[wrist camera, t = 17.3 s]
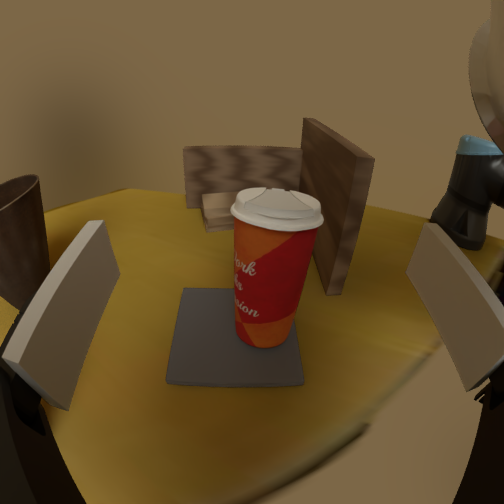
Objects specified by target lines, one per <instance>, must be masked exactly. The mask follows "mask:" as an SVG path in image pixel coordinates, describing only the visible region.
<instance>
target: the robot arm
mask: <svg viewBox="0 0 504 504" xmlns="http://www.w3.org/2000/svg"><path fill="white" fill-rule="evenodd" d="M469 79H470V86H471V93H472V97H473V100H474V104H475V107H476V110H477V112H478V115H479V117H480V120H481V122H482V124H483V126H484V127H485V129H486V131H487V133H488V134H489V136H490V137H491V139H492V140H493V142H492V141H489V140H485V139H482V138H479V137H475V136H471V135H464V136H462V137H461V138H460V141H459V145H458V149H457V151H456V154H457V155H456V159H455V163H454V166H453V171H452V174H451V178H450V181H449V185H448V188H447V192H446V193H445V195H444V196H443V198H442V199H441V201H440V203H439V204H438V206H437V207H436V208H435V209H434V211H433V213H432V216H431V219H430V222H431V223H424V225H423V228H422V231H421V234H420V236H419V239H418V242H417V245H416V247H415V250H414V252H413V255H412V258H411V260H410V263H409V265H408V267H407V270H406V272H405V273H406V274H407V276H408V277H409V279H410V281H411V282H412V284H413V286H414V287H415V289H416V291H417V293H418V294H419V296H420V298H421V299H422V301H423V303H424V305H425V307H426V308H427V310H428V312H429V314H430V316H431V318H432V319H433V321H434V323H435V325H436V327H437V329H438V331H439V333H440V335H441V337H442V339H443V341H444V343H445V345H446V347H447V349H448V351H449V353H450V355H451V358H452V360H453V362H454V364H455V366H456V368H457V371H458V373H459V375H460V378H461V380H462V383H463V385H464V388H465V390H466V392H468V391H470V390H473V389H475V388H477V387H479V386H480V385H481V384H482V383H483V382H484V381H485V380H486V379H488V378H489V379H490V381H491V382H490V383H489V384H487V385H486V386H485V387H484V388H483V389H482V390H481V391H480V392H479V393H478V394H477V395H476V396H475V398H474V400H475V401H476V400H477V399H478V398H480V397H481V396H482V395H483V394H485V395H484V396H483V397H482V398H481V399H480V400H479V402H480V403H482V404H483V408H482V412H481V417H480V422H479V426H478V430H477V434H476V438H475V442H474V446H473V449H472V452H471V455H470V459H469V462H468V465H467V468H466V471H465V473H464V476H463V479H462V481H461V484H460V487H459V489H458V491H457V494H456V496H455V498H454V501H453V503H452V504H504V305H502V302H501V301H500V300H499V298H498V297H497V295H496V294H495V293H494V292H493V291H492V289H491V288H490V287H489V285H488V284H487V282H486V281H485V280H484V278H483V277H482V276H481V275H480V273H479V272H478V271H477V269H476V268H475V267H474V266H473V264H472V263H471V262H470V261H469V259H468V258H467V257H466V256H465V255H464V253H463V252H462V251H461V250H460V249H459V247H458V246H460V247H463V248H466V249H470V250H479V249H481V248H482V246H483V244H484V242H485V239H486V229H487V221H488V213H489V210H490V207H491V205H492V203H494V204H496V205H497V206H500V207H501V208H503V209H504V0H491V17H490V19H489V20H487V21H486V22H485V23H484V24H483V25H482V26H481V27H480V28H479V30H478V31H477V33H476V34H475V36H474V38H473V41H472V45H471V48H470V53H469ZM457 245H458V246H457ZM119 276H120V271H119V268H118V265H117V262H116V259H115V256H114V253H113V250H112V246H111V243H110V240H109V236H108V233H107V229H106V226H105V222H104V220H96V221H88V222H87V223H86V225H85V226H84V227H83V228H82V230H81V231H80V232H79V233H78V235H77V236H76V237H75V239H74V240H73V241H72V242H71V244H70V245H69V246H68V248H67V249H66V250H65V252H64V253H63V255H62V256H61V257H60V259H59V260H58V262H57V263H56V264H55V266H54V267H53V269H52V270H51V272H50V273H49V275H48V276H47V277H46V279H45V281H44V282H43V284H42V285H41V287H40V288H39V290H38V291H35V292H34V293H33V294H32V295H31V296H30V297H29V298H28V299H27V300H26V301H25V303H24V305H23V306H22V308H21V310H20V311H19V314H18V315H17V317H16V318H15V320H14V324H12V326H11V327H10V329H9V331H8V333H7V335H6V337H5V339H4V341H3V343H2V345H1V347H0V504H86V502H85V500H84V499H83V497H82V495H81V493H80V492H79V490H78V488H77V486H76V484H75V482H74V480H73V478H72V476H71V474H70V472H69V470H68V468H67V466H66V464H65V462H64V460H63V458H62V455H61V453H60V451H59V448H58V446H57V443H56V441H55V439H54V436H53V433H52V431H51V428H50V425H49V422H48V420H47V417H46V414H45V410H44V408H43V407H42V405H41V404H40V400H41V397H42V398H43V399H44V400H45V401H46V402H48V403H49V404H50V405H51V406H54V407H57V408H60V409H63V410H66V411H69V407H70V404H71V400H72V397H73V394H74V390H75V387H76V384H77V381H78V378H79V375H80V372H81V369H82V366H83V363H84V360H85V358H86V355H87V352H88V349H89V347H90V344H91V341H92V339H93V336H94V334H95V331H96V329H97V326H98V324H99V321H100V319H101V316H102V314H103V312H104V309H105V307H106V305H107V302H108V300H109V298H110V296H111V293H112V291H113V289H114V287H115V285H116V282H117V280H118V278H119Z"/></svg>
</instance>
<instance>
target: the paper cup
mask: <svg viewBox="0 0 504 504" xmlns="http://www.w3.org/2000/svg"><path fill="white" fill-rule="evenodd" d="M230 211H231V213H232V214H233V216H234V291H235V326H236V332H237V335H238V337H239V338H240V339H241V340H242V341H243V342H245V343H246V344H248V345H250V346H253V347H257V348H272V347H276V346H278V345H280V344H282V343H283V342H284V341H285V340H286V338H287V336H288V334H289V331H290V329H291V326H292V322H293V319H294V316H295V313H296V309H297V306H298V303H299V299H300V296H301V292H302V289H303V285H304V281H305V278H306V274H307V270H308V266H309V263H310V259H311V255H312V251H313V247H314V243H315V239H316V235H317V231H318V227H319V226H320V225H322V224H323V221H324V219H323V215H322V214H321V205H320V202H319V201H318V200H317V199H315V198H313V197H311V196H309V195H307V194H304V193H300V192H297V191H292V190H290V192H289V191H284V189H276V188H272V190H271V189H267V190H266V187H260V188H249V189H245V190H242V191H240V192H239V193H238V194H237V197H236V201H235V203H234V204H233V205H232V207H231V210H230Z"/></svg>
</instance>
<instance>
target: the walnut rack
mask: <svg viewBox="0 0 504 504" xmlns="http://www.w3.org/2000/svg"><path fill="white" fill-rule="evenodd" d="M183 161H184V175H185V190H186V203H187V208H201V204H203V203H202V194H213V193H226V192H240V191H242V190H245V189H249V188H260V187H266V190H267V189H271V190H272V188H276V189H284V191H289V192H290V190H292V191H297V192H300V193H304V194H307V195H309V196H311V197H313V198H315V199H317V200H318V201H319V202H320V205H321V214H322V215H323V219H324V221H323V224H322V225H320V226H319V227H318V231H317V235H316V239H315V243H314V247H313V251H312V254H313V257H314V260H315V263H316V266H317V269H318V272H319V275H320V278H321V281H322V284H323V287H324V290H325V293H326V295H341V292H342V289H343V285H344V282H345V279H346V276H347V272H348V269H349V266H350V262H351V259H352V255H353V252H354V248H355V244H356V241H357V237H358V233H359V229H360V225H361V221H362V217H363V213H364V209H365V205H366V200H367V196H368V191H369V187H370V182H371V177H372V172H373V167H374V162H375V159H374V158H373V157H372V156H370V155H369V154H368V153H366V152H365V151H363V150H362V149H360V148H359V147H358V146H356V145H355V144H353V143H352V142H350V141H349V140H347V139H346V138H344V137H343V136H341V135H340V134H338V133H337V132H335V131H333V130H332V129H330V128H329V127H327V126H325V125H324V124H322V123H321V122H319V121H317V120H316V119H313V118H303V129H302V142H301V148H290V147H272V146H186V147H184V149H183Z"/></svg>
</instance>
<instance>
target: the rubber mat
mask: <svg viewBox="0 0 504 504" xmlns="http://www.w3.org/2000/svg"><path fill="white" fill-rule="evenodd" d="M166 382H167V384H177V385H190V386H209V387H275V386H294V385H303V383H304V376H303V370H302V363H301V357H300V351H299V346H298V340H297V334H296V328H295V322H294V319H293V322H292V326H291V329H290V331H289V334H288V336H287V338H286V340H285V341H284V342H283V343H282V344H280V345H278V346H276V347H272V348H257V347H253V346H250V345H248V344H246V343H245V342H243V341H242V340H241V339H240V338H239V337H238V335H237V332H236V326H235V291H234V289H219V288H183V293H182V297H181V302H180V306H179V311H178V316H177V321H176V326H175V331H174V336H173V341H172V346H171V352H170V357H169V363H168V369H167V374H166Z"/></svg>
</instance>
